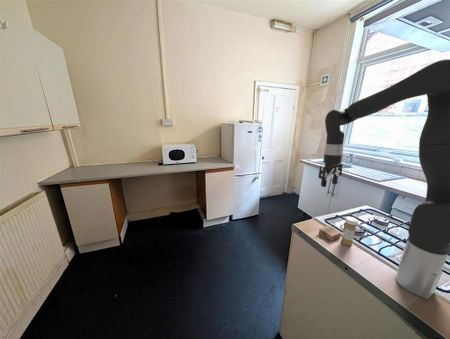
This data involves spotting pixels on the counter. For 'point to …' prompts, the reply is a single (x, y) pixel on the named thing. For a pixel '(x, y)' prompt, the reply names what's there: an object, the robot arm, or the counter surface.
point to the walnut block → (330, 233)
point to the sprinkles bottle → (349, 230)
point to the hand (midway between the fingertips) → (329, 185)
